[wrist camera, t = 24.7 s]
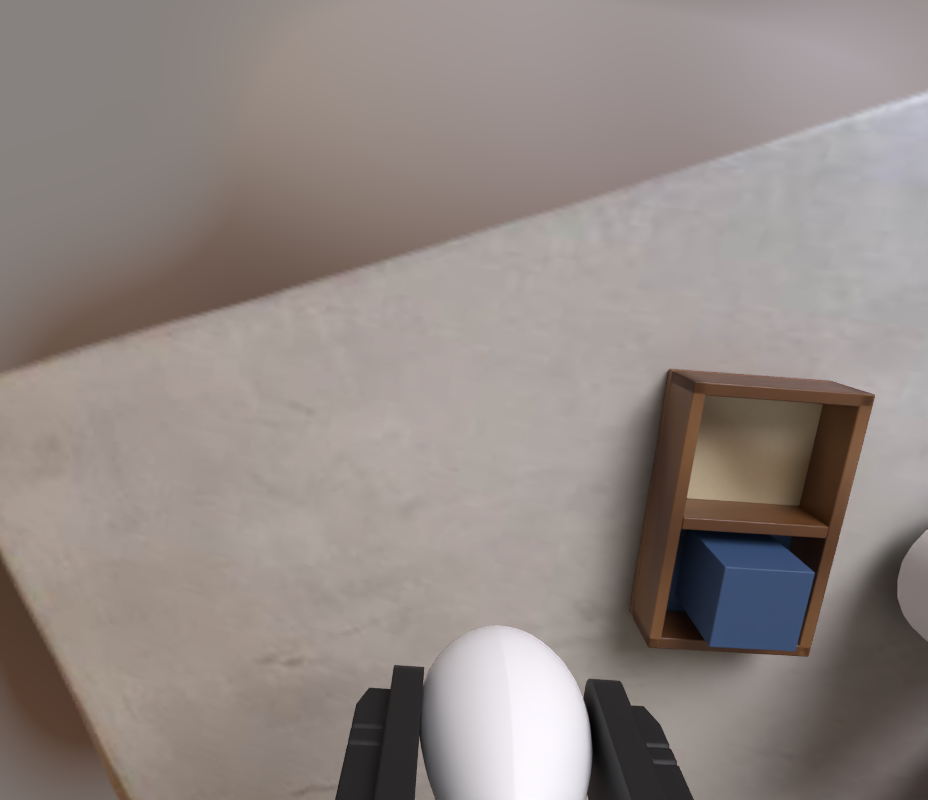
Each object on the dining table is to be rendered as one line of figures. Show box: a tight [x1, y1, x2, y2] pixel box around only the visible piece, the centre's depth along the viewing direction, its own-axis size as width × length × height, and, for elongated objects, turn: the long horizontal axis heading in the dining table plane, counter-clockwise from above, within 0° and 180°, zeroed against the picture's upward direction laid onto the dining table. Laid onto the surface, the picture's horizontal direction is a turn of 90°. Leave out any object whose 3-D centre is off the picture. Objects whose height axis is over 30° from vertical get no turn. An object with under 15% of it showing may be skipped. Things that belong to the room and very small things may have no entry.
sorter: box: [629, 369, 875, 657], centre depth 27 cm, size 13×8×3 cm, turn 176°
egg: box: [419, 625, 592, 800], centre depth 12 cm, size 4×4×6 cm
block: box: [676, 530, 815, 652], centre depth 27 cm, size 4×4×4 cm
